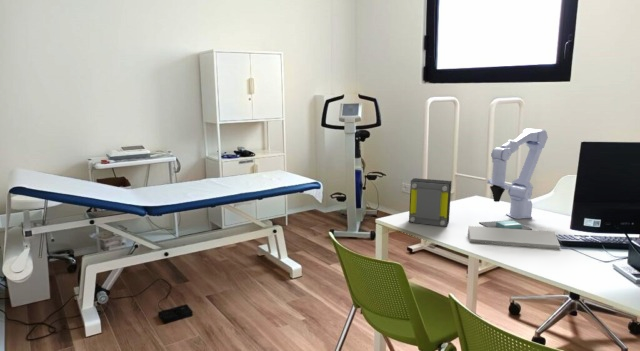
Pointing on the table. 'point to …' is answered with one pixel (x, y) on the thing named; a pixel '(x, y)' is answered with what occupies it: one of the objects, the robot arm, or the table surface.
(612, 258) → the table surface
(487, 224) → the mat
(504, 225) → the card box
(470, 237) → the bevelled gray strip
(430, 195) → the electrical component
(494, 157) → the robot arm
